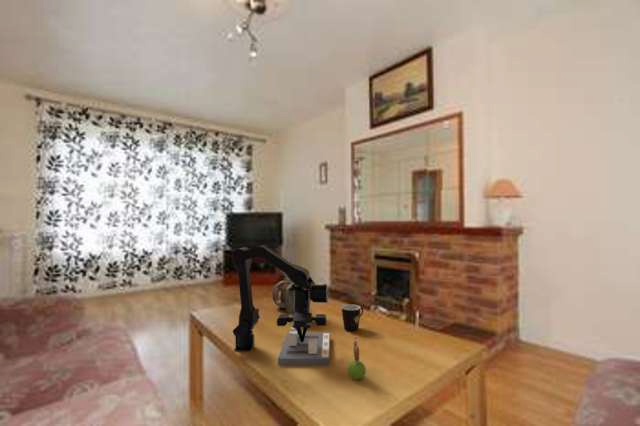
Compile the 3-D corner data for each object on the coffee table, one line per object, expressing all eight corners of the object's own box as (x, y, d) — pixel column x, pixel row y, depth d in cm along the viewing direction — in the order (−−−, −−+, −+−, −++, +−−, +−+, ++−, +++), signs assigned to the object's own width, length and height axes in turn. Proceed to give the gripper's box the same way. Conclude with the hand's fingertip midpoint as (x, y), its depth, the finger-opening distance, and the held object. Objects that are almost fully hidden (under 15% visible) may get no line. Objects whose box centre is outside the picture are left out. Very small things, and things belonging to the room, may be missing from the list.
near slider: (308, 353, 117) (308, 342, 117) (309, 349, 121) (309, 338, 121) (316, 353, 117) (316, 342, 117) (317, 349, 121) (317, 338, 121)
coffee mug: (345, 333, 143) (345, 311, 143) (339, 327, 151) (338, 305, 151) (370, 330, 146) (369, 308, 146) (362, 324, 154) (362, 303, 154)
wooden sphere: (289, 302, 193) (289, 276, 193) (304, 307, 182) (304, 280, 182) (267, 307, 184) (266, 280, 184) (282, 313, 172) (281, 285, 172)
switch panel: (278, 365, 114) (277, 357, 114) (287, 338, 138) (287, 332, 138) (329, 365, 114) (329, 358, 114) (329, 338, 138) (329, 332, 138)
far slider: (291, 338, 131) (291, 328, 131) (292, 334, 135) (292, 325, 135) (298, 338, 131) (298, 328, 131) (299, 334, 135) (299, 325, 135)
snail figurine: (363, 372, 109) (363, 336, 109) (367, 382, 102) (366, 344, 102) (347, 372, 109) (346, 337, 108) (349, 383, 102) (349, 344, 102)
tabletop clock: (303, 324, 155) (302, 271, 155) (285, 323, 157) (284, 271, 157) (310, 314, 170) (309, 266, 169) (293, 313, 171) (292, 266, 171)
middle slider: (288, 345, 124) (288, 335, 124) (290, 341, 128) (289, 331, 128) (296, 345, 124) (296, 335, 124) (297, 341, 128) (297, 331, 128)
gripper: (273, 308, 118) (274, 351, 118) (325, 307, 118) (326, 351, 118) (278, 299, 129) (279, 338, 130) (325, 299, 129) (326, 338, 129)
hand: (302, 341), depth 126 cm, fingers closed
